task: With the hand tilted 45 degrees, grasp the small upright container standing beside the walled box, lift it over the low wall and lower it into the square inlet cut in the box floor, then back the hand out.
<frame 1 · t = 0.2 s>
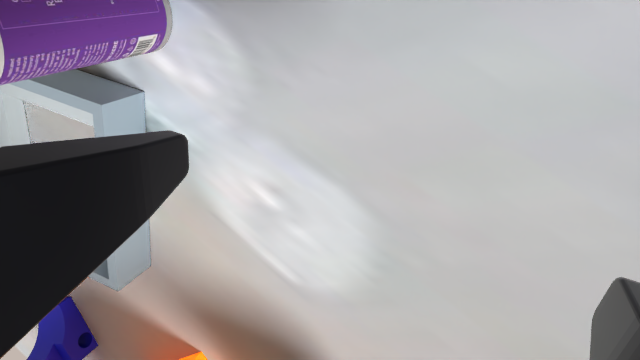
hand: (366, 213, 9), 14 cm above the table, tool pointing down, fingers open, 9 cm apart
container: (143, 12, 27), on the table
cable clip: (60, 294, 45), on the table
walled box: (71, 157, 35), on the table
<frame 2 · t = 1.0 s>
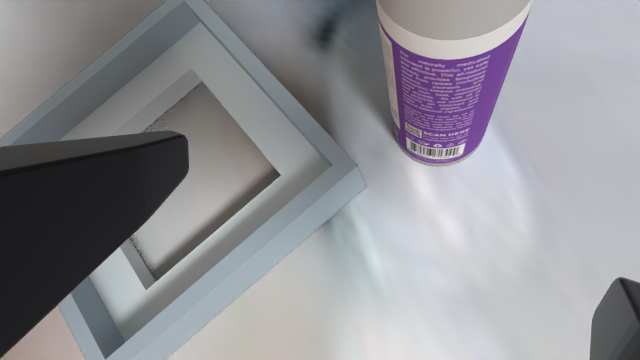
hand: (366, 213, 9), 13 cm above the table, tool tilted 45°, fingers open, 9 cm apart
container: (438, 126, 23), on the table
walled box: (183, 179, 25), on the table
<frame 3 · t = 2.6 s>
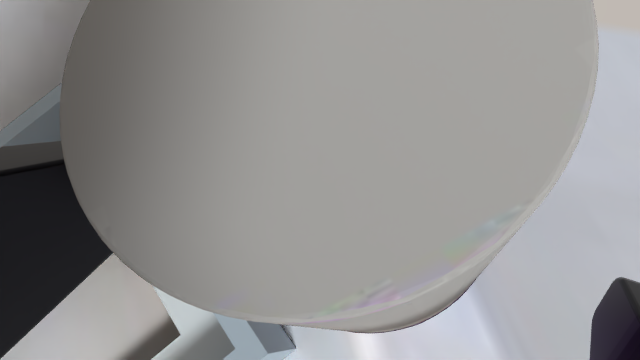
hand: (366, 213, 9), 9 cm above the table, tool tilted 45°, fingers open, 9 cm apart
container: (393, 267, 18), on the table
walled box: (71, 315, 20), on the table
when the fingers open (9 cm above the table, at t = 7.2 s): container stays where it is, resting in walled box.
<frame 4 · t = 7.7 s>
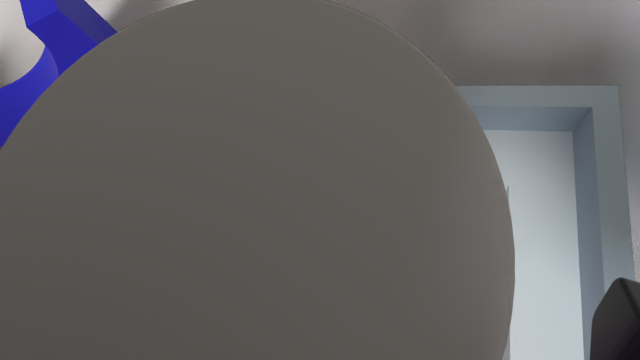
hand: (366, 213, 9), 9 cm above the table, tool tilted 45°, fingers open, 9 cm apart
container: (377, 304, 17), resting in walled box
cable clip: (48, 127, 24), on the table
walled box: (380, 299, 17), on the table
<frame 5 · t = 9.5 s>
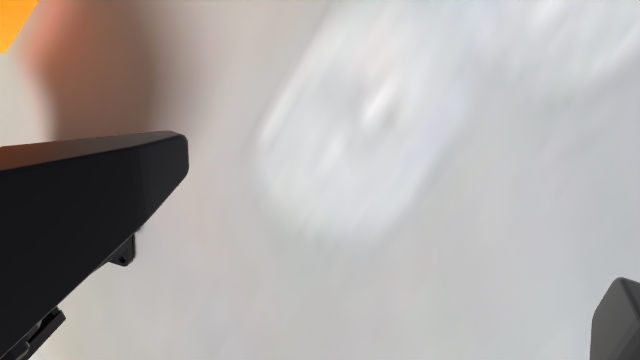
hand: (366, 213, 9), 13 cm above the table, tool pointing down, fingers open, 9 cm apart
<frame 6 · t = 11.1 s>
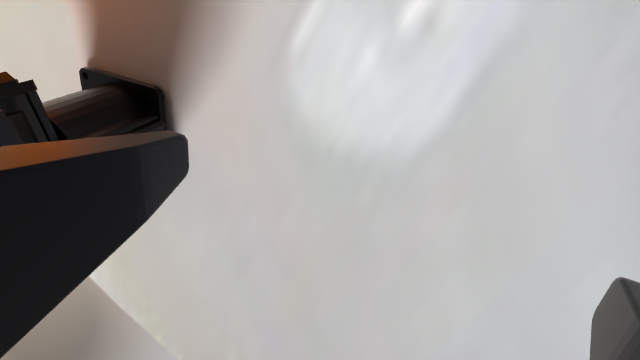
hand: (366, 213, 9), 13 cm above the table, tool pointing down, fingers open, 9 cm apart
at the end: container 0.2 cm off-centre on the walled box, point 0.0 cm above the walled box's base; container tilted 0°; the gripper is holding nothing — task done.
